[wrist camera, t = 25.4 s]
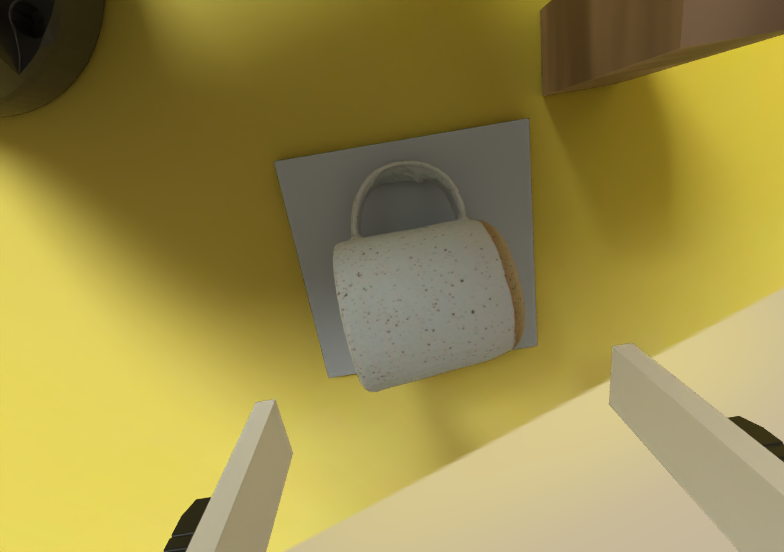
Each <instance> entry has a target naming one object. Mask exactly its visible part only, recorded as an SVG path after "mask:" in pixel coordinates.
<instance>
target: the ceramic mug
mask: <svg viewBox="0 0 784 552" xmlns="http://www.w3.org/2000/svg"><path fill="white" fill-rule="evenodd" d="M424 180H428V181H431V182H433V183H434V184H435V185H436V186H437V187H439V188H440V189H441V190H442V191H443V192H444V194H445V195H446V198H447V199H448V200H449V202H450V205H451V207H452V209H453V212H454V216H455V220H456V221H448V222H443V223H438V224H434V225H430V226H426V227H421V228H416V229H409V230H403V231H397V232H392V233H386V234H380V235H373V236H369V237H362V236H361V215H362V211H363V207H364V203H365V201H366V199H367V197H368V195H369V194H370V192H371V191H372V190H373V189H374V188H376V187H379V186H380V185H382V184H387V183H394V182H401V181H414V182H417V183H421V182H423V181H424ZM351 236H352V237H351V239H349V240H348V241H344V242H340V243H338V244H336V245H335V247H334V251H333V269H334V278H335V286H336V293H337V298H338V303H339V309H340V315H341V319H342V323H343V329H344V332H345V335H346V340H347V343H348V347H349V351H350V354H351V356H352V360H353V363H354V365H355V368H356V371H357V374H358V377H359V380H360V382H361V384H362V386H363V387H364V388H365V389H366V390H368V391H370V392H378V391H381V390H384V389H387V388H391V387H394V386H398V385H402V384H405V383H409V382H413V381H417V380H420V379H424V378H428V377H431V376H435V375H438V374H441V373H445V372H448V371H451V370H455V369H459V368H463V367H467V366H471V365H475V364H478V363H482V362H485V361H488V360H491V359H493V358H496V357H498V356H500V355H502V354H504V353H506V352H508V351H510V350H512V349H513V348H515V347H516V346H517V345H518V344H519V342H520V340H521V339H522V335H523V332H524V328H525V303H524V297H523V292H522V287H521V283H520V279H519V275H518V271H517V268H516V265H515V263H514V261H513V258H512V255H511V252H510V250H509V248H508V246H507V244H506V242H505V240H504V238H503V237H502V235H501V234H500V232H499V231H498V230H497V229H495V228H494V227H493V226H492V225H490V224H488V223H487V222H485V221H482V220H470V219H468V218H467V216H466V211H465V207H464V203H463V199H462V197H461V196H460V193H459V190H458V188H457V187H456V186H455V184H454V183H453V181H452V180H451V179H450V177H449V176H448V175H447V174H446V173H444V172H443V171H441V170H439V169H438V168H436V167H434V166H432V165H430V164H428V163H424V162H418V161H400V162H393V163H389V164H387V165H384V166H381V167H379V168H377V169H375V170H374V171H373V172H372V173H370V174H369V175H368V176H367V177H366V179H365V180H364V181H363V183H362V185H361V186H360V188H359V190H358V192H357V194H356V196H355V199H354V203H353V207H352V213H351Z"/></svg>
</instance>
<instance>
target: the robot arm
mask: <svg viewBox="0 0 784 552" xmlns="http://www.w3.org/2000/svg"><path fill="white" fill-rule="evenodd" d="M103 9H104V0H0V117H4V116H12V115H17V114H21V113H25V112H28V111H31V110H34V109H36V108H39V107H41V106H43V105H45V104H47V103H48V102H50V101H52V100H53V99H55V98H56V97H58V96H59V95H60V94H61V93H63V92H64V91H65V90H66V89H67V88H68V87H69V86H70V85H71V84H72V83H73V82H74V81H75V80H76V78H77V77H78V76H79V75H80V73H81V72H82V70H83V69H84V67H85V66H86V64H87V62H88V60H89V58H90V56H91V54H92V52H93V49H94V47H95V44H96V41H97V38H98V35H99V31H100V27H101V23H102V16H103ZM609 405H610V406H611V407H612V408H613V409H614V411H615V412H616V413H617V414H618V415H619V416H620V417H621V418H622V420H623V421H624V422H625V423H626V424H627V425H628V426H629V428H630V429H631V430H632V431H633V432H634V433H635V434H636V435H637V437H639V439H640V440H641V441H642V442H643V443H644V445H645V446H646V447H647V448H648V449H649V450H650V451H651V452H652V454H653V455H654V456H655V457H656V458H657V459H658V460H659V462H660V463H661V464H662V465H663V466H664V467H665V468H666V470H667V471H668V472H669V473H670V474H671V475H672V476H673V477H674V479H675V480H676V481H677V482H678V483H679V484H680V485H681V487H682V488H683V489H684V490H685V491H686V492H687V493H688V494H689V495H690V497H691V498H692V499H693V500H694V501H695V502H696V503H697V504H698V506H699V507H700V508H701V509H702V510H703V511H704V512H705V514H706V515H707V516H708V517H709V518H710V519H711V520H712V522H713V523H714V524H715V525H716V526H717V527H718V528H719V530H720V531H721V532H722V533H723V534H724V535H725V536H726V537H727V539H728V540H729V541H730V542H731V543H732V544H733V545H734V547H735V548H736V549H737V550H738V551H739V552H784V444H783V442H782V441H781V440H779V439H778V438H776V437H775V436H774V435H772V434H771V433H770V432H768V431H767V430H766V429H764V428H763V427H761V426H759V425H757V424H754V423H753V422H751V421H748V420H746V419H744V418H742V417H740V416H736V417H730V418H727V417H726V416H724V415H723V414H722V413H720V412H719V411H718V410H716V409H715V408H714V407H713V406H712V405H710V404H709V403H708V402H707V401H705V400H704V399H703V398H701V397H700V396H699V395H698V394H696V393H695V392H694V391H693V390H691V389H690V388H689V387H687V386H686V385H685V384H684V383H682V382H681V381H680V380H679V379H677V378H676V377H675V376H674V375H672V374H671V373H670V372H668V371H667V370H666V369H665V368H663V367H662V366H661V365H660V364H658V363H657V362H656V361H655V360H653V359H652V358H651V357H650V356H648V355H647V354H646V353H644V352H643V351H642V350H641V349H639V348H638V347H637V346H636V345H634V344H633V343H630V344H624V345H617V346H612V363H611V380H610V398H609ZM292 455H293V452H292V449H291V446H290V443H289V439H288V436H287V433H286V430H285V427H284V424H283V421H282V418H281V415H280V412H279V409H278V406H277V403H276V400H275V399H273V400H266V401H260V402H256V403H255V405H254V407H253V409H252V412H251V414H250V416H249V418H248V420H247V422H246V424H245V426H244V429H243V431H242V433H241V435H240V437H239V439H238V441H237V444H236V446H235V448H234V450H233V452H232V454H231V456H230V458H229V461H228V463H227V465H226V467H225V469H224V471H223V473H222V476H221V478H220V480H219V482H218V484H217V486H216V488H215V490H214V493H213V495H212V497H209V498H203V499H196V500H195V501H194V503H193V504H192V505H191V506H190V507H189V508H188V509H187V511H186V512H185V513H184V514H183V515H182V516H181V518H180V520H179V522H178V524H177V526H176V528H175V530H174V531H173V533H172V538H170V539H169V541H168V543H167V545H166V547H165V549H164V552H266V550H267V546H268V543H269V539H270V535H271V532H272V528H273V524H274V521H275V517H276V513H277V510H278V506H279V502H280V499H281V495H282V491H283V488H284V484H285V480H286V477H287V473H288V469H289V466H290V462H291V458H292Z"/></svg>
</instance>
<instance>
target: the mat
mask: <svg viewBox="0 0 784 552" xmlns="http://www.w3.org/2000/svg"><path fill="white" fill-rule="evenodd" d="M400 161H418V162H424V163H428V164H430V165H432V166H434V167H436V168H438V169H439V170H441V171H443V172H444V173H446V174H447V175H448V176H449V177H450V179H451V180H452V181H453V183H454V184H455V186H456V187H457V188H458V190H459V193H460V196H461V197H462V199H463V203H464V207H465V211H466V216H467V218H468V219H470V220H482V221H485V222H487V223H488V224H490V225H492V226H493V227H494V228H495V229H497V230H498V231H499V232H500V234H501V235H502V237H503V238H504V240H505V242H506V244H507V246H508V248H509V250H510V252H511V255H512V258H513V261H514V263H515V265H516V268H517V271H518V275H519V279H520V283H521V287H522V292H523V297H524V303H525V328H524V332H523V335H522V339H521V340H520V342H519V344H518V345H517V346H516V347H515V348H513V349H512V350H514V349H521V348H527V347H534V346H537V322H536V295H535V267H534V240H533V213H532V185H531V158H530V131H529V118H527V119H521V120H515V121H509V122H503V123H497V124H491V125H486V126H480V127H474V128H468V129H462V130H456V131H450V132H444V133H439V134H433V135H427V136H421V137H415V138H409V139H403V140H398V141H392V142H386V143H380V144H374V145H368V146H362V147H356V148H351V149H345V150H339V151H333V152H327V153H321V154H315V155H309V156H304V157H298V158H292V159H286V160H280V161H274V164H275V168H276V172H277V176H278V180H279V184H280V188H281V192H282V196H283V200H284V204H285V208H286V212H287V216H288V219H289V223H290V227H291V231H292V235H293V239H294V243H295V247H296V251H297V255H298V259H299V263H300V267H301V271H302V275H303V279H304V283H305V287H306V291H307V295H308V299H309V303H310V306H311V310H312V314H313V318H314V322H315V326H316V330H317V334H318V338H319V342H320V346H321V350H322V354H323V358H324V362H325V366H326V370H327V374H328V378H331V377H338V376H344V375H351V374H357V371H356V368H355V365H354V363H353V360H352V356H351V354H350V351H349V347H348V343H347V340H346V335H345V332H344V329H343V323H342V319H341V315H340V309H339V303H338V298H337V293H336V286H335V278H334V269H333V251H334V247H335V245H336V244H338V243H340V242H344V241H348V240H349V239H351V237H352V236H351V213H352V207H353V203H354V199H355V196H356V194H357V192H358V190H359V188H360V186H361V185H362V183H363V181H364V180H365V179H366V177H367V176H368V175H369V174H370V173H372V172H373V171H374V170H375V169H377V168H379V167H381V166H384V165H387V164H389V163H393V162H400ZM448 221H456V220H455V216H454V212H453V209H452V207H451V205H450V202H449V200H448V199H447V198H446V195H445V194H444V192H443V191H442V190H441V189H440V188H439V187H437V186H436V185H435V184H434V183H433V182H431V181H428V180H424V181H423V182H421V183H417V182H414V181H401V182H394V183H387V184H382V185H380V186H379V187H376V188H374V189H373V190H372V191H371V192H370V194H369V195H368V197H367V199H366V201H365V203H364V207H363V211H362V215H361V236H362V237H369V236H373V235H380V234H386V233H392V232H397V231H403V230H409V229H416V228H421V227H426V226H430V225H434V224H438V223H443V222H448Z"/></svg>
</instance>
